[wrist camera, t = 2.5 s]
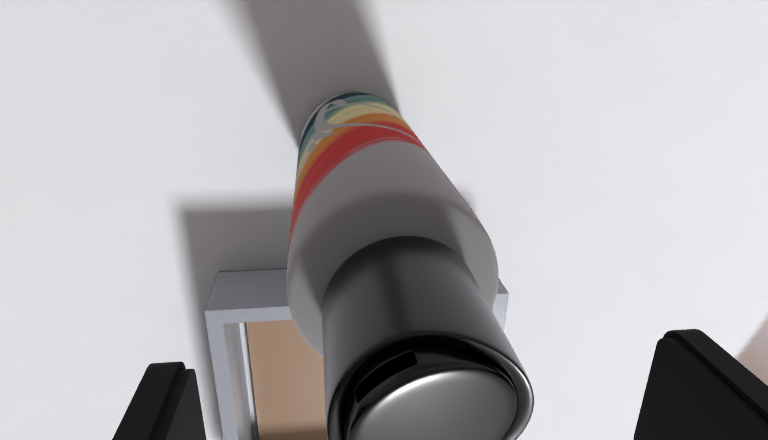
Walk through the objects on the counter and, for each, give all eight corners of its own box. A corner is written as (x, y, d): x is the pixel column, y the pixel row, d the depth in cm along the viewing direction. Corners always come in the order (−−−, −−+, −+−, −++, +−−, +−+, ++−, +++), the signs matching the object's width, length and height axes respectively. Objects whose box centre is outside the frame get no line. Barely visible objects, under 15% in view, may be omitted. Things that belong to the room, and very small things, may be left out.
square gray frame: (218, 272, 29) (204, 311, 25) (485, 258, 31) (508, 293, 27) (244, 472, 35) (236, 527, 31) (466, 451, 37) (483, 500, 33)
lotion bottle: (366, 66, 26) (495, 229, 7) (427, 154, 28) (645, 448, 10) (277, 134, 26) (193, 434, 8) (343, 214, 29) (396, 592, 10)
